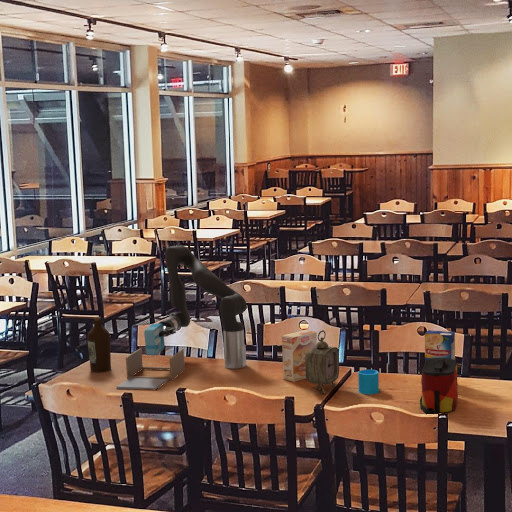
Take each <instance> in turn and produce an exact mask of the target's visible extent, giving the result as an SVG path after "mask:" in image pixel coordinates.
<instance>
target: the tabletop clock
mask: <svg viewBox="0 0 512 512" xmlns="http://www.w3.org/2000/svg"><path fill="white" fill-rule="evenodd" d="M322 333H323V334H324V336H323V337H322V336H320V335H321V334H322ZM326 333H327V332H326V331H325V330H323V329H322V330H320V331H319V332H318V334H317V345H316V347H315V348H313V349H311V350H309V351H308V352H307V353H306V356H305V371H306V378H305V379H306V381H308V382H309V383H310V384H316V385H317V386H315V388H316V390H318V391H319V390H320V389H321V391H320V392H321V394H322V395H324V394H325V393H326V391H325V389H324V385H326V386H329V385H331V387H332V388H335V387H336V386H337V385H336V383H335V382H336V381H337V380H338V378H339V373H340V357H339V356H340V354H339V349H338V347H336V346H329V344H328V343H327V342H326V341H324V340H325V339H326Z"/></svg>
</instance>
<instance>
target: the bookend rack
mask: <svg viewBox="0 0 512 512" xmlns="http://www.w3.org/2000/svg"><path fill="white" fill-rule="evenodd" d="M184 350H185V349H183V348H182V349H180V350H179V351H178V352H176V353H175V354H174V355H172V356H171V357H170V358H169V367H168V366H167V367H163V366H162V367H161V366H159V367H157V366H143V352H142V351H143V350H142V347H141V348H139V349H137V350H136V351H133V352H132V353H131V354H129V355H127V356H125V365H126V380H127V379H128V378H148V379H167V381H170V380H172V379H173V380H175V379H176V378H177V377H178V376H180V375H181V374H182V373H183V372H185V371H186V370H185V352H184ZM141 369H170V370H169V371H170V374H169V377H167V376H166V377H163V376H135V375H136V374H135V373H137V372H138V371H140V370H141ZM184 370H185V371H184ZM141 371H142V370H141ZM141 371H140V372H141ZM182 371H183V372H182ZM181 372H182V373H181ZM138 373H139V372H138ZM138 373H137V374H138ZM180 373H181V374H180ZM134 374H135V375H134ZM179 374H180V375H179ZM133 375H134V376H133ZM177 375H178V376H177ZM176 376H177V377H176ZM175 377H176V378H175ZM174 378H175V379H174ZM173 380H172V381H173Z"/></svg>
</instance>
